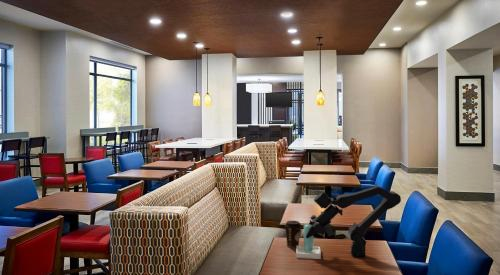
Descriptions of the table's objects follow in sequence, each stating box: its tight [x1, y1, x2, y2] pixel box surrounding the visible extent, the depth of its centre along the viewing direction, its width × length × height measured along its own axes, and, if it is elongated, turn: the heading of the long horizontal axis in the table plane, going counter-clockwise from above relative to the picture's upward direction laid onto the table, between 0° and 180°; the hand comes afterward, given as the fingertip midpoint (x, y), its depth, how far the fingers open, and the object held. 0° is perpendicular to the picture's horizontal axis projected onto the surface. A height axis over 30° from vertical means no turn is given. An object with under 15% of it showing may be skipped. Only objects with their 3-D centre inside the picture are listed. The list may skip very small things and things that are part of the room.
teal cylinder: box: [303, 224, 314, 251], centre depth 203 cm, size 5×5×12 cm
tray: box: [295, 245, 322, 260], centre depth 203 cm, size 12×12×2 cm
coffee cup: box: [284, 220, 302, 248], centre depth 216 cm, size 9×8×13 cm
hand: (305, 236), depth 203 cm, fingers closed on teal cylinder, 5 cm apart
